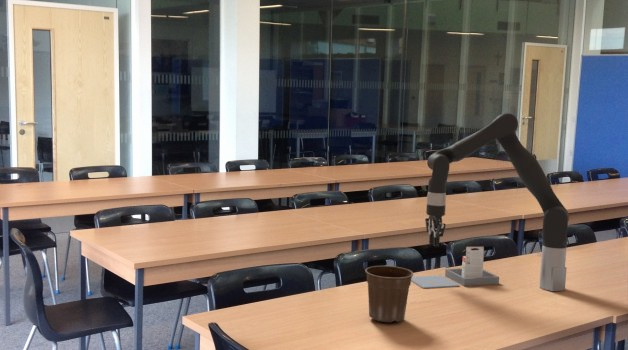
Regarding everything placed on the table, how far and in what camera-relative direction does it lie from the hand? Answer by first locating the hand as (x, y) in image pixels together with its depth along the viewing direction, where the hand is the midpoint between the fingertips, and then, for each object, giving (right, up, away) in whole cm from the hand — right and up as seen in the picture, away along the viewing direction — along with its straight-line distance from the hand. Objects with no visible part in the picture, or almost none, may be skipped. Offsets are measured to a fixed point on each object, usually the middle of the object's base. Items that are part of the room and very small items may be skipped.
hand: (434, 245), depth 287 cm
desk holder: (+17, -15, +7) cm, 24 cm away
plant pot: (-24, -20, -45) cm, 55 cm away
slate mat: (0, -15, +2) cm, 15 cm away
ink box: (+17, -15, +7) cm, 24 cm away
